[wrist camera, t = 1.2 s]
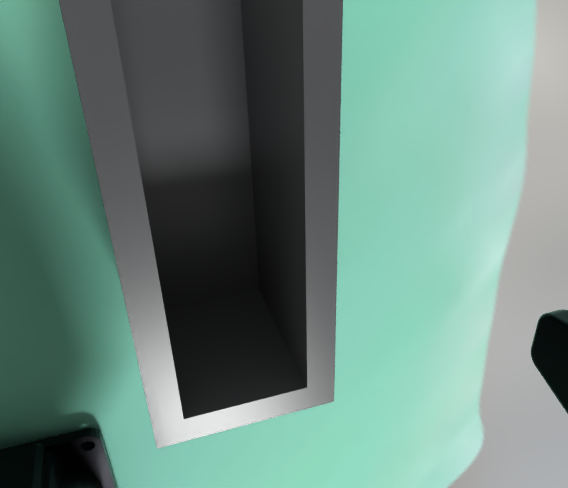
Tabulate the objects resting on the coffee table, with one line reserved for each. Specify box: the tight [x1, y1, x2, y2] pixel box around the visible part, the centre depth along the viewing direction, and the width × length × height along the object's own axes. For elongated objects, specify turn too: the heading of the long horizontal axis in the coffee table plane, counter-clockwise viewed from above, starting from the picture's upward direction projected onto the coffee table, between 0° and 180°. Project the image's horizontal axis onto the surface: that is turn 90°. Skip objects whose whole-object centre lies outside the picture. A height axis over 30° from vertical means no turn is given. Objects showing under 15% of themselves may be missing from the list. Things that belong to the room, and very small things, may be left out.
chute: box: [59, 0, 343, 448], centre depth 14 cm, size 11×5×6 cm, turn 1°
